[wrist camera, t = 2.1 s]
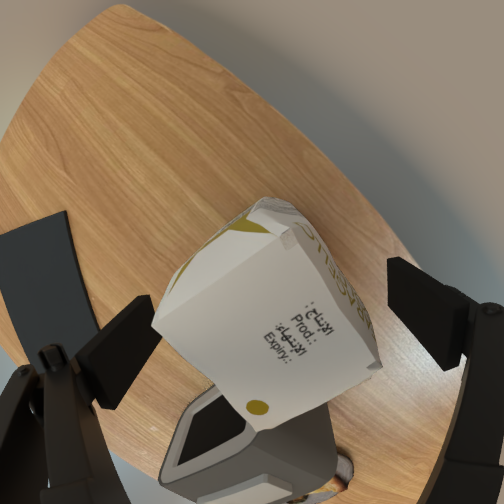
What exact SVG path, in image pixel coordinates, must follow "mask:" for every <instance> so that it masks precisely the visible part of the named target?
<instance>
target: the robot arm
mask: <svg viewBox="0 0 504 504" xmlns="http://www.w3.org/2000/svg"><path fill="white" fill-rule="evenodd" d="M387 281H388V306H389V308H390V309H391V310H392V311H393V312H394V313H395V314H396V315H397V317H398V318H399V319H400V320H401V321H402V322H403V323H404V325H405V326H406V327H407V328H408V329H409V330H410V331H411V333H412V334H413V335H414V336H415V337H416V338H417V340H418V341H419V342H420V343H421V344H422V346H423V347H424V348H425V349H426V350H427V352H428V353H429V354H430V355H431V356H432V358H433V359H434V360H435V361H436V362H437V364H438V365H439V366H440V367H441V369H442V370H443V371H447V370H450V369H452V368H455V367H457V366H459V364H460V359H461V355H462V353H463V354H464V355H465V356H466V357H467V360H466V364H465V368H464V372H463V376H462V380H461V381H462V383H461V387H460V391H459V395H458V399H457V403H456V406H455V410H454V413H453V416H452V420H451V423H450V426H449V429H448V432H447V435H446V438H445V441H444V443H443V446H442V449H441V451H440V454H439V456H438V459H437V461H436V464H435V466H434V468H433V471H432V473H431V475H430V477H429V480H428V482H427V484H426V486H425V488H424V490H423V492H422V494H421V496H420V498H419V500H418V502H417V504H496V503H497V499H498V496H499V493H500V489H501V485H502V481H503V476H504V466H502V465H499V459H500V454H501V448H502V443H503V437H504V307H503V306H501V305H499V304H497V303H491V302H489V303H482V304H479V303H477V302H476V301H474V300H473V299H471V298H470V297H468V296H466V295H465V294H464V293H461V291H459V290H458V289H456V288H454V287H451V286H448V285H443V284H442V283H440V282H439V281H437V280H436V279H434V278H432V277H431V276H429V275H428V274H426V273H425V272H423V271H422V270H420V269H418V268H417V267H415V266H414V265H412V264H410V263H409V262H407V261H406V260H404V259H402V258H401V257H394V258H388V259H387ZM154 315H155V311H154V308H153V305H152V301H151V298H150V294H149V295H141V296H137V297H136V298H135V299H134V300H133V301H132V302H131V303H130V304H128V305H127V306H126V307H125V308H124V309H123V310H122V311H121V312H120V313H119V314H118V315H116V316H115V317H114V318H113V319H112V320H111V321H110V322H109V323H108V324H107V325H106V326H105V327H103V328H102V329H101V330H100V331H99V332H98V333H97V334H96V335H95V336H94V337H93V338H92V339H91V340H90V341H89V342H88V343H87V344H86V345H84V346H83V347H82V348H81V349H80V350H79V351H78V352H77V353H76V354H75V355H74V357H73V358H72V359H71V360H70V361H69V359H68V356H67V354H66V352H65V350H64V347H63V345H62V343H52V344H49V345H46V346H44V347H43V348H41V349H40V350H39V351H38V353H37V356H38V358H39V360H40V362H41V364H42V366H43V368H44V370H45V373H41V374H38V373H37V371H36V369H35V367H34V366H33V365H31V364H28V365H22V366H20V367H18V369H17V370H15V371H14V373H13V374H12V376H11V378H10V379H9V381H8V383H7V385H6V386H5V388H4V390H3V392H2V394H1V396H0V504H131V502H130V500H129V498H128V496H127V494H126V492H125V490H124V487H123V485H122V483H121V481H120V478H119V476H118V474H117V471H116V469H115V466H114V464H113V461H112V459H111V456H110V453H109V451H108V448H107V445H106V442H105V439H104V436H103V433H102V430H101V427H100V424H99V421H98V417H97V414H96V411H95V408H94V407H93V405H92V402H93V400H94V399H95V398H96V400H97V402H98V403H99V405H100V407H101V408H102V409H110V410H115V409H116V408H117V406H118V405H119V403H120V402H121V400H122V398H123V397H124V395H125V394H126V392H127V391H128V389H129V388H130V386H131V384H132V383H133V381H134V380H135V378H136V377H137V375H138V374H139V372H140V371H141V369H142V368H143V366H144V365H145V363H146V362H147V360H148V359H149V357H150V355H151V354H152V352H153V351H154V349H155V348H156V346H157V345H158V343H159V342H160V340H161V339H162V335H160V334H159V333H158V332H157V331H156V330H155V329H154V328H153V327H152V326H151V325H152V322H153V318H154ZM30 408H31V409H30ZM31 410H32V411H33V413H32V411H31ZM48 479H49V483H50V488H48Z"/></svg>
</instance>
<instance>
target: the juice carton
mask: <svg viewBox="0 0 504 504" xmlns="http://www.w3.org/2000/svg"><path fill="white" fill-rule="evenodd" d="M151 326H152V327H153V328H154V329H155V330H156V331H157V332H158V333H159V334H160V335H162V336H163V338H164V339H165V340H166V341H167V342H168V343H169V344H170V345H171V346H172V347H173V348H174V349H175V350H176V351H177V352H178V353H179V354H180V355H181V356H182V357H183V358H184V359H185V360H186V361H188V362H189V363H190V364H191V365H193V366H194V367H195V368H196V369H197V370H199V371H200V372H201V373H202V374H204V375H205V376H206V377H207V378H209V379H210V380H211V381H213V383H214V384H215V385H216V387H217V388H218V389H219V390H220V392H221V393H222V394H223V395H224V397H225V398H226V399H227V400H228V402H229V403H230V404H231V405H232V407H233V408H234V409H235V410H236V411H237V412H238V413H239V414H240V415H241V416H242V417H243V418H244V419H245V420H246V421H247V422H248V423H249V424H250V425H251V426H252V427H253V429H254V430H255V431H256V432H258V431H261V430H264V429H273V428H274V427H276V426H278V425H280V424H282V423H284V422H286V421H288V420H289V419H291V418H294V417H296V416H298V415H300V414H303V413H305V412H307V411H309V410H311V409H314V408H316V407H318V406H320V405H322V404H323V403H325V402H327V401H329V400H331V399H333V398H334V397H336V396H338V395H340V394H341V393H343V392H345V391H347V390H348V389H350V388H353V387H355V386H357V385H359V384H361V383H363V382H365V381H367V380H369V379H371V377H372V375H373V374H374V373H375V372H377V371H378V370H380V369H381V368H383V366H382V363H381V361H380V358H379V353H378V348H377V343H376V339H375V335H374V331H373V326H372V323H371V320H370V317H369V314H368V312H367V310H366V308H365V306H364V304H363V303H362V301H361V299H360V298H359V296H358V295H357V293H356V291H355V290H354V289H353V287H352V286H351V284H350V283H349V282H348V280H347V279H346V277H345V276H344V275H343V273H342V272H341V271H340V269H339V268H338V267H337V265H336V264H335V262H334V259H333V257H332V255H331V253H330V251H329V249H328V247H327V246H326V244H325V243H324V241H323V240H322V238H321V237H320V235H319V234H318V232H317V231H316V230H315V228H314V227H313V226H312V225H311V223H310V222H309V221H308V220H307V219H306V218H305V217H304V216H303V215H302V214H301V213H300V212H299V211H298V210H297V209H296V208H295V207H294V206H293V205H292V204H291V203H290V202H287V201H285V200H282V199H279V198H274V197H263V198H262V199H260V200H258V201H257V202H256V203H254V204H253V205H252V206H250V207H249V208H247V209H246V210H245V211H243V212H242V213H241V214H239V215H238V216H236V217H235V218H234V219H232V220H231V221H230V222H228V223H227V224H226V225H225V226H223V227H222V228H221V229H220V230H219V231H218V232H217V233H216V234H215V235H213V236H212V237H211V238H210V239H209V240H208V241H207V242H206V243H205V244H204V245H203V246H202V247H201V248H200V249H199V250H198V251H197V252H196V253H195V254H193V255H192V256H191V257H190V258H189V259H188V260H187V261H186V262H185V263H184V264H183V265H182V266H181V267H180V268H179V269H178V270H177V271H176V272H175V274H174V276H173V277H172V279H171V281H170V283H169V285H168V287H167V289H166V292H165V294H164V296H163V298H162V300H161V302H160V304H159V306H158V309H157V311H156V313H155V315H154V318H153V322H152V325H151Z"/></svg>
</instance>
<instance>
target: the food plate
mask: <svg viewBox="0 0 504 504" xmlns="http://www.w3.org/2000/svg"><path fill="white" fill-rule="evenodd" d="M337 455H338V464H337V470H336V473H335V475H334V477H333V478H332V479H331V480H330V481H329V482H328V483H326V484H325V485H324V486H322V487H321V488H320V489H317V490H315V491H313V492H310V493H308V494H306V495H303V496H301V497H298V498H296V499H293V500H290V501H288V502H285V503H282V504H316V503H317V504H318V503H321V502H323V501H325V500H328V499H330V498H331V497H333V496H335V495H336V494H338V493H339V492H343V491H345V490H347V489H348V484H349V481H350V480H351V479H352V478H353V476H354V475H353V474H354V466H353V463H352V460H350V458H349V457H347V456H345V455H343V454H340V453H338V452H337Z"/></svg>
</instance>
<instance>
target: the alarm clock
mask: <svg viewBox="0 0 504 504" xmlns="http://www.w3.org/2000/svg"><path fill="white" fill-rule="evenodd" d="M337 464H338V455H337V450H336V445H335V439H334V434H333V429H332V425H331V420H330V415H329V410H328V405H327V402H325V403H323V404H322V405H320V406H318V407H316V408H314V409H311V410H309V411H307V412H305V413H303V414H300V415H298V416H296V417H294V418H291V419H289V420H288V421H286V422H284V423H282V424H280V425H278V426H276V427H274V428H273V429H264V430H261V431H258V432H256V431H255V430H254V429H253V427H252V426H251V425H250V424H249V423H248V422H247V421H246V420H245V419H244V418H243V417H242V416H241V415H240V414H239V413H238V412H237V411H236V410H235V409H234V408H233V407H232V405H231V404H230V403H229V402H228V400H227V399H226V398H225V397H224V395H223V394H222V393H221V392H220V390H219V389H218V388H217V387H216V385H215V384H214V385H213V386H211V387H210V388H209V389H207V390H206V391H205V392H203V393H202V394H201V395H199V396H198V397H197V398H195V399H194V400H193V401H192V402H191V403H190V404H189V405H188V406H187V408H186V409H185V410H184V412H183V413H182V415H181V417H180V419H179V421H178V423H177V426H176V429H175V431H174V434H173V437H172V439H171V442H170V445H169V447H168V450H167V453H166V455H165V458H164V461H163V463H162V466H161V469H160V472H159V477H158V481H159V484H160V485H161V486H163V487H164V488H166V489H168V490H170V491H172V492H174V493H176V494H178V495H180V496H183V497H184V498H187V499H189V500H191V501H193V502H195V503H196V504H282V503H285V502H288V501H290V500H293V499H296V498H298V497H301V496H303V495H306V494H308V493H310V492H313V491H315V490H317V489H320V488H321V487H322V486H324V485H325V484H326V483H328V482H329V481H330V480H331V479H332V478H333V477H334V475H335V473H336V470H337Z"/></svg>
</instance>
